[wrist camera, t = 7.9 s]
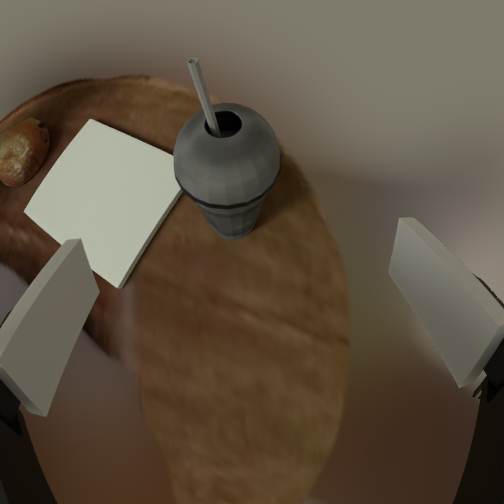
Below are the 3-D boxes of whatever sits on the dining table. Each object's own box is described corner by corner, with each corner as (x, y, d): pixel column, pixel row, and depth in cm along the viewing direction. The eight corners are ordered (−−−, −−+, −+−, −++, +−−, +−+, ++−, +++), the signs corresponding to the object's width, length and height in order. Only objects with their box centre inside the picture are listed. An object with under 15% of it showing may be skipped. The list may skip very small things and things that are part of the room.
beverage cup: (258, 261, 29) (282, 142, 10) (188, 242, 30) (107, 113, 10) (276, 196, 31) (311, 37, 12) (210, 180, 31) (176, 20, 12)
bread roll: (16, 169, 36) (-22, 167, 28) (39, 112, 34) (1, 103, 26) (38, 199, 35) (-4, 199, 27) (65, 135, 32) (21, 125, 25)
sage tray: (27, 214, 30) (23, 211, 29) (92, 123, 34) (90, 118, 33) (121, 289, 28) (117, 288, 27) (197, 171, 32) (196, 166, 31)
